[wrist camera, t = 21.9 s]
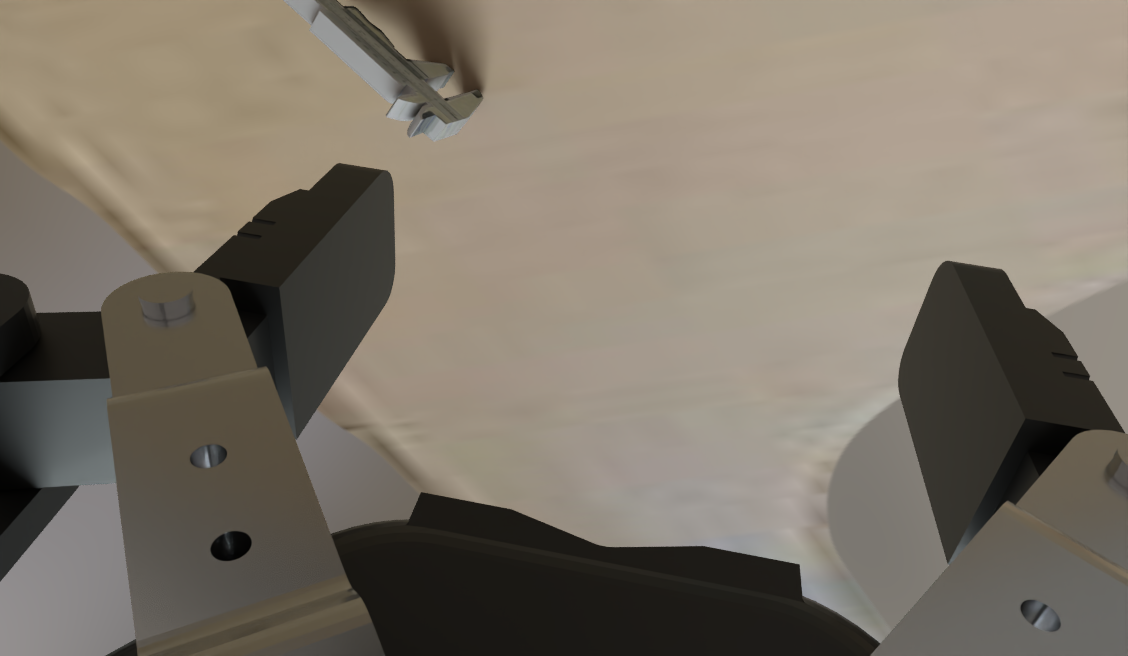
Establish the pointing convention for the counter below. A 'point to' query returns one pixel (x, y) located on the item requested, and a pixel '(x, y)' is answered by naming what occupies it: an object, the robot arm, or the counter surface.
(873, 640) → the robot arm
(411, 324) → the counter surface
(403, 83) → the caliper
